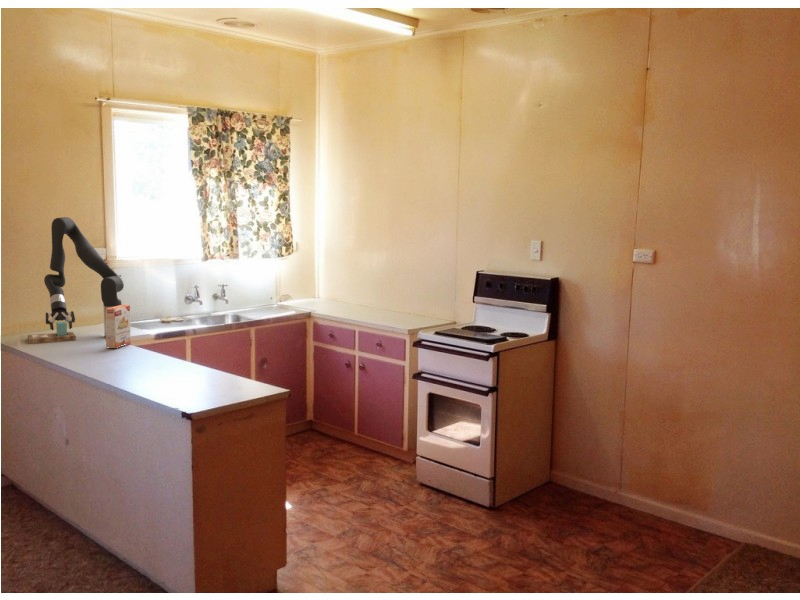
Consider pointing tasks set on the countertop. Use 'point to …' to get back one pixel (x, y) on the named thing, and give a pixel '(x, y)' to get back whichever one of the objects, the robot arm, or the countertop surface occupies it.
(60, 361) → the countertop surface
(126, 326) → the cracker box
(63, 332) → the teal block
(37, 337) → the puzzle board
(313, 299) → the countertop surface
